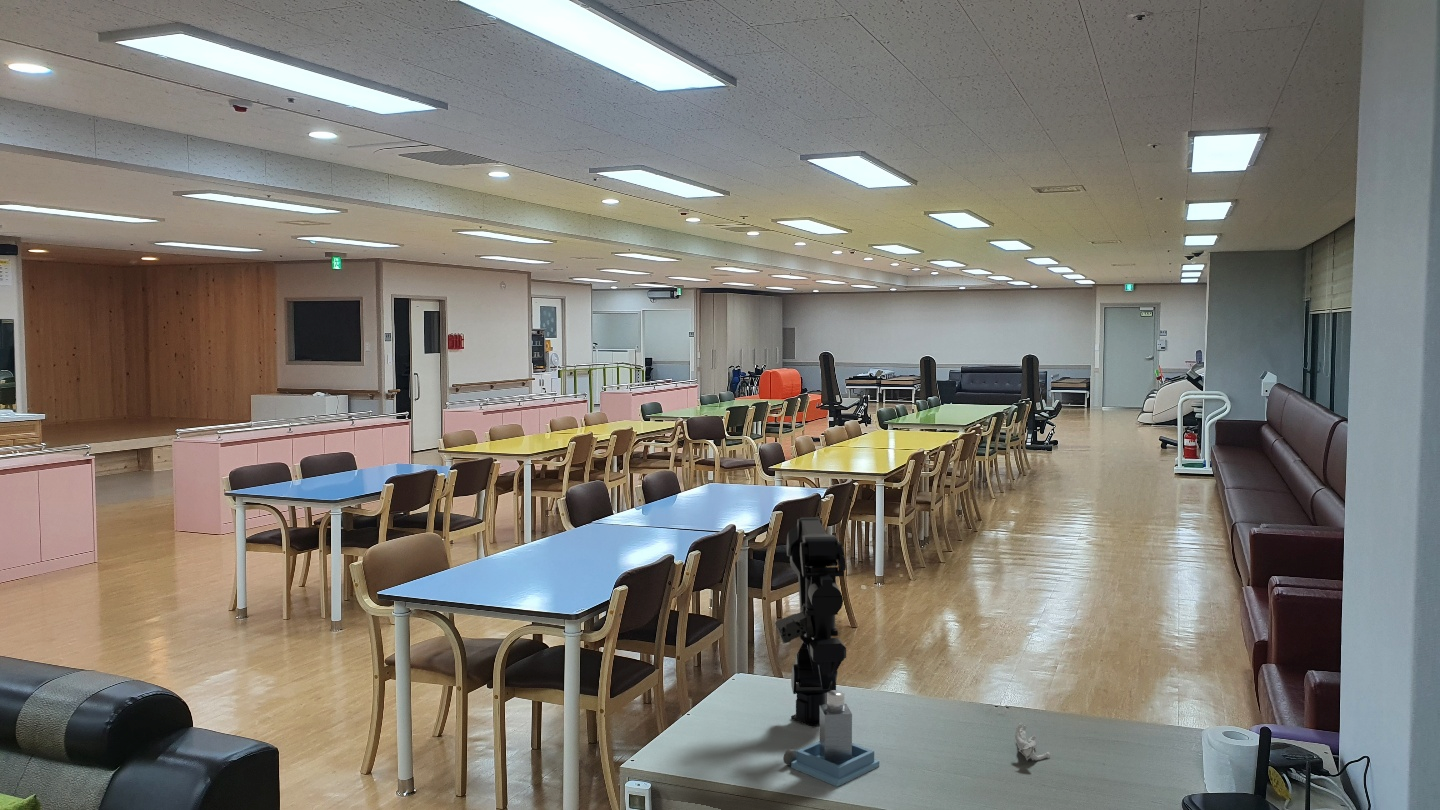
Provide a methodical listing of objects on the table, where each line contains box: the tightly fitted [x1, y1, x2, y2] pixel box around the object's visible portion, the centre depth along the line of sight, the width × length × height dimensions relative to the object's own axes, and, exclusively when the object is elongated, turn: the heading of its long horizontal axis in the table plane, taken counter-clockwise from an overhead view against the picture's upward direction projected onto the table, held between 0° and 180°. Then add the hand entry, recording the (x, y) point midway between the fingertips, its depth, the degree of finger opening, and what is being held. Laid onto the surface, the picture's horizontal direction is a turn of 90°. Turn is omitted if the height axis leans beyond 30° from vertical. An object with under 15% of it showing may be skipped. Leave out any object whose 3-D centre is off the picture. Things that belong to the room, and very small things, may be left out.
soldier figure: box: [1014, 722, 1051, 761], centre depth 197 cm, size 8×5×12 cm
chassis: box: [782, 740, 880, 787], centre depth 192 cm, size 13×12×3 cm
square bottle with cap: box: [819, 689, 853, 765], centre depth 191 cm, size 5×5×13 cm
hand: (820, 680), depth 200 cm, fingers open, 9 cm apart
